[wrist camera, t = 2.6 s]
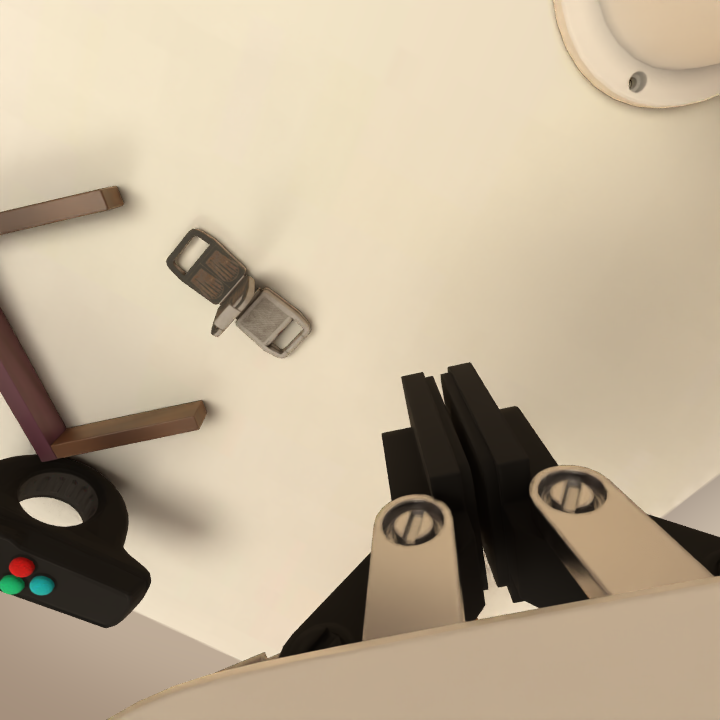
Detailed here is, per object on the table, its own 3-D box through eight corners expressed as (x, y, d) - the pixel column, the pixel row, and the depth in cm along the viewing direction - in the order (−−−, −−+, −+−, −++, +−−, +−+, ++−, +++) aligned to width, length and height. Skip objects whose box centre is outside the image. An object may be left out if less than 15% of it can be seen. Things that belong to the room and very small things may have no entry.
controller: (10, 415, 30) (-130, 532, 21) (189, 500, 34) (135, 633, 25) (-13, 463, 32) (-154, 592, 23) (162, 540, 35) (101, 680, 26)
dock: (117, 185, 25) (100, 188, 23) (207, 413, 31) (199, 430, 29) (-63, 227, 26) (-94, 233, 24) (58, 443, 31) (41, 462, 30)
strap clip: (315, 324, 29) (312, 352, 25) (282, 358, 30) (274, 390, 26) (197, 222, 26) (173, 236, 22) (164, 262, 27) (135, 283, 23)
